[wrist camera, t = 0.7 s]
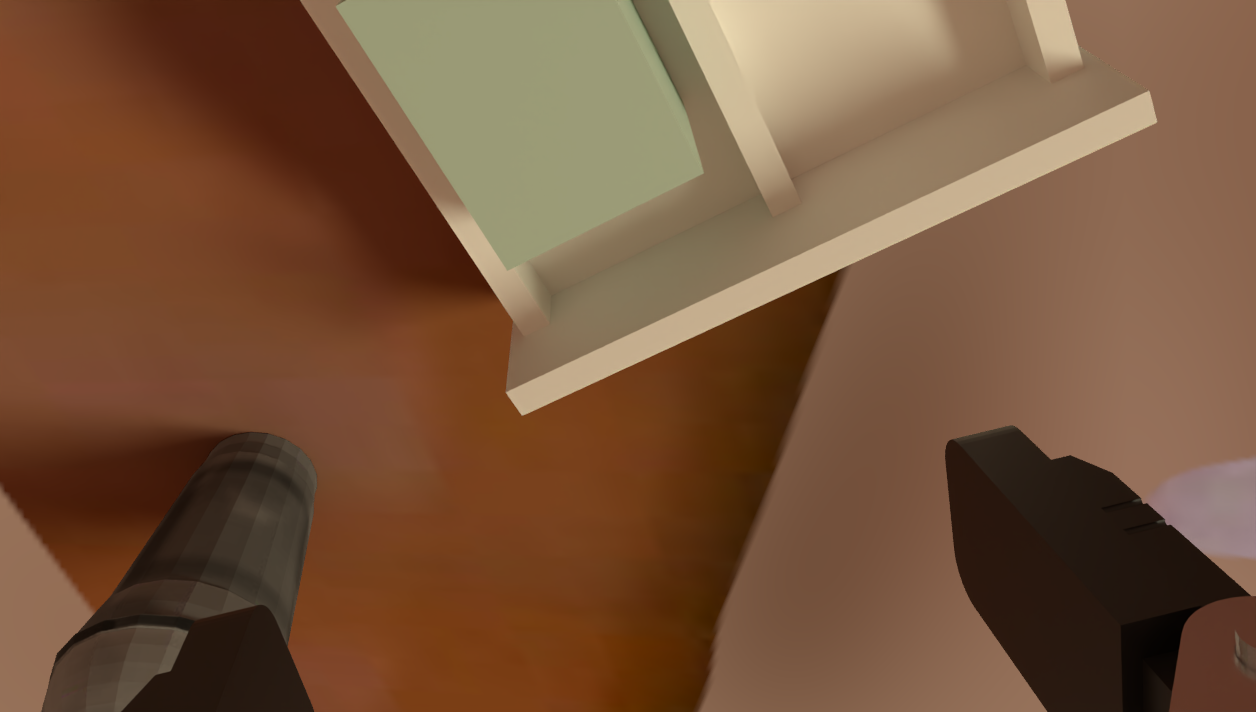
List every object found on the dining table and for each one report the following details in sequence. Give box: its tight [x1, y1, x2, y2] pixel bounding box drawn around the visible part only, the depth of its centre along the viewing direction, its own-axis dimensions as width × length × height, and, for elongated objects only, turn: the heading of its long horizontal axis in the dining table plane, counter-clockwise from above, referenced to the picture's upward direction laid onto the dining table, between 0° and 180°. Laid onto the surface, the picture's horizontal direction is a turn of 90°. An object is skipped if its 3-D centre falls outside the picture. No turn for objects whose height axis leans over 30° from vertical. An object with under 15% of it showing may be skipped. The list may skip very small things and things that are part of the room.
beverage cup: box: [42, 432, 317, 712], centre depth 35 cm, size 7×7×20 cm
